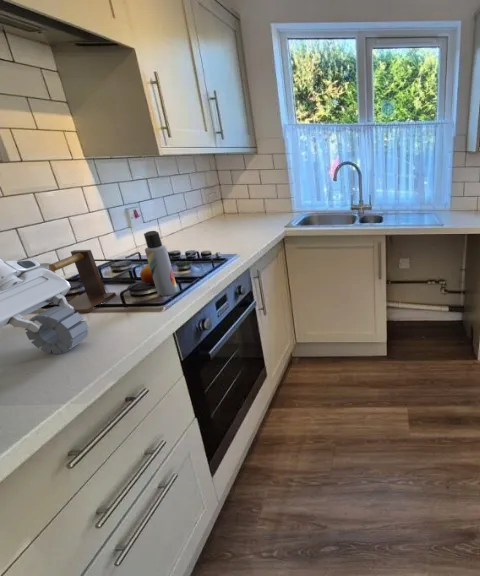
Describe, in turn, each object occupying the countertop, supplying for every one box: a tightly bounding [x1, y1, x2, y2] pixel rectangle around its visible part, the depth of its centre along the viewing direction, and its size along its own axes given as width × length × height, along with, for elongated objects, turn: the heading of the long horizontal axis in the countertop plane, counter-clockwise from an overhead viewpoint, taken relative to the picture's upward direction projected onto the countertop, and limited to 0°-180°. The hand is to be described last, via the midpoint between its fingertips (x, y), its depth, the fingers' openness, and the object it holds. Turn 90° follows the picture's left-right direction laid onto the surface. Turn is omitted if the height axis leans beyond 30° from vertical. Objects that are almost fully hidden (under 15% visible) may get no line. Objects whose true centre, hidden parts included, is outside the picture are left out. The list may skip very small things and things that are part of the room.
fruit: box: [139, 263, 155, 285], centre depth 124 cm, size 8×8×8 cm
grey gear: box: [24, 305, 90, 355], centre depth 84 cm, size 10×5×10 cm, turn 91°
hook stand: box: [49, 249, 117, 314], centre depth 106 cm, size 10×12×16 cm
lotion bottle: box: [143, 230, 178, 297], centre depth 112 cm, size 6×6×20 cm
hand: (55, 319), depth 83 cm, fingers open, 7 cm apart
